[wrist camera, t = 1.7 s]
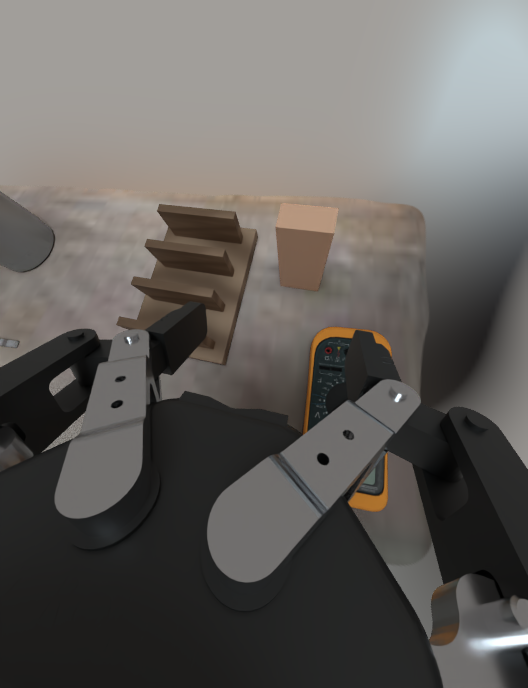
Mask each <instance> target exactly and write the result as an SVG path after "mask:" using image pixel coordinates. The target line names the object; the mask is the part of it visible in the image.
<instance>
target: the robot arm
mask: <svg viewBox="0 0 528 688" xmlns="http://www.w3.org/2000/svg"><path fill="white" fill-rule="evenodd" d="M53 241H54V238H53V233H52V230H51V229H50V227H49V226H47V225H46V224H45V223H43V222H42V221H40V220H39V218H38V217H37V216H35V215H34V214H32V213H31V212H29V211H28V210H27V209H25V208H24V207H22V206H21V205H19V204H18V203H16V202H15V201H14V200H12V199H11V198H9V197H8V196H6V195H5V194H3V193H2V192H1V191H0V265H2V266H4V267H6V268H9V269H11V270H13V271H17V272H23V271H27V270H30V269H33V268H35V267H36V266H38V265H39V264H40V263H41V262H43V261H44V260H45V258H46V257H47V256H48V254H49V253H50V251H51V249H52V246H53ZM206 335H207V317H206V307H205V305H204V304H203V303H198V302H192V301H189V302H188V303H187V304H185V305H184V306H182V307H181V308H179V309H176V310H174V311H171V312H170V313H168V314H167V315H165V317H162V318H161V319H160V320H158V321H157V322H155V323H154V324H152V325H151V326H150V327H148V328H147V329H145V330H140V329H134V330H127V331H124V332H121V333H119V334H117V335H116V336H115V337H114V338H113V340H99V339H98V336H97V334H96V332H95V331H94V330H92V329H77V330H73V331H69V332H66V333H64V334H62V335H60V336H58V337H56V338H54V339H53V340H51V341H49V342H47V343H45V344H43V345H41V346H40V347H38V348H36V349H34V350H32V351H30V352H28V353H26V354H25V355H23V356H21V357H19V358H17V359H15V360H13V361H12V362H10V363H8V364H6V365H4V366H2V367H0V688H528V469H527V468H526V466H525V465H524V463H523V462H522V460H521V459H520V457H519V456H518V455H517V453H516V452H515V450H514V449H513V447H512V446H511V444H510V443H509V442H508V440H507V439H506V437H505V436H504V434H503V433H502V431H501V430H500V429H499V428H498V426H497V425H496V424H494V423H493V422H492V421H491V420H489V419H488V418H487V417H485V416H483V415H481V414H480V413H478V412H476V411H474V410H471V409H468V408H464V407H454V408H451V409H450V410H449V412H448V413H447V414H444V413H442V412H440V411H437V410H435V409H432V408H430V407H427V406H426V405H423V404H421V400H420V397H419V395H418V394H417V393H416V391H414V390H413V389H412V388H411V387H409V386H408V385H406V384H404V383H402V382H401V379H400V377H399V374H398V372H397V369H396V367H395V365H394V362H393V360H392V357H391V355H390V352H389V351H388V350H387V349H386V348H385V347H384V346H383V345H382V344H379V343H376V341H375V338H374V335H373V333H372V332H367V331H362V330H355V332H354V334H353V337H352V340H351V343H350V346H349V349H348V352H347V355H346V359H345V376H346V386H347V396H348V400H347V401H346V402H345V403H343V404H342V405H341V406H339V407H338V408H337V409H336V410H334V411H333V412H332V413H331V414H329V415H328V416H327V417H326V418H324V419H323V420H322V421H320V422H319V423H318V424H317V425H315V426H314V427H313V428H312V429H310V430H309V431H308V432H307V433H305V434H304V435H302V434H301V433H300V432H299V431H297V430H296V429H294V428H293V427H291V426H289V425H287V420H288V416H287V415H283V414H279V413H274V412H270V411H266V410H262V409H234V408H230V407H228V406H226V405H224V404H222V403H220V402H218V401H216V400H214V399H212V398H210V397H208V396H204V395H200V394H196V393H191V392H187V391H185V392H184V393H183V394H182V396H181V397H180V398H176V399H167V400H162V393H161V380H160V376H159V375H160V374H161V373H164V374H169V375H173V374H174V373H175V371H176V370H177V369H178V368H179V367H180V366H181V365H182V364H183V363H184V361H185V360H186V359H187V358H188V357H189V356H190V355H191V354H192V353H193V351H194V350H195V349H196V348H197V347H198V346H199V345H200V344H201V343H202V341H203V340H204V339H205V338H206ZM69 367H70V368H71V370H72V372H73V374H74V376H75V378H76V379H75V380H74V381H73V382H71V383H70V384H69V385H67V386H66V387H65V388H63V389H62V390H61V391H60V392H58V393H57V394H56V395H54V396H53V395H52V394H51V392H50V391H49V384H50V382H51V381H52V379H53V378H55V377H56V376H58V375H59V374H60V373H62V372H63V371H65V370H66V369H68V368H69ZM85 411H86V413H85V417H84V420H83V424H82V428H81V431H80V434H79V435H78V436H76V437H75V438H74V439H71V440H69V441H67V442H65V443H62V444H60V445H58V446H56V447H54V448H51V449H49V450H47V451H45V452H42V451H44V450H45V449H46V448H47V447H48V446H49V445H50V444H51V443H52V442H53V441H54V440H55V439H56V438H57V437H59V436H60V435H61V434H62V433H63V432H64V431H65V430H66V429H67V428H68V427H69V426H70V425H71V424H72V423H74V422H75V421H76V420H77V419H78V418H79V417H80V416H81V415H82V414H83V413H84V412H85ZM388 451H390V452H391V453H393V454H395V455H397V456H399V457H401V458H403V459H405V460H407V461H409V462H410V463H412V465H413V469H414V472H415V476H416V480H417V484H418V488H419V492H420V496H421V499H422V503H423V507H424V511H425V515H426V519H427V522H428V526H429V530H430V534H431V538H432V542H433V545H434V549H435V553H436V557H437V561H438V564H439V569H440V572H441V576H442V580H443V584H444V585H441V586H440V587H438V588H437V589H436V590H435V591H434V593H433V595H432V599H431V610H432V621H433V625H432V633H431V637H430V639H428V637H427V635H426V632H425V630H424V628H423V626H422V624H421V622H420V620H419V618H418V616H417V614H416V612H415V610H414V609H413V607H412V605H411V604H410V602H409V600H408V599H407V597H406V595H405V594H404V592H403V591H402V589H401V587H400V586H399V584H398V583H397V581H396V579H395V578H394V576H393V574H392V573H391V571H390V570H389V568H388V566H387V565H386V563H385V561H384V560H383V558H382V557H381V555H380V553H379V552H378V550H377V549H376V547H375V545H374V544H373V542H372V540H371V539H370V537H369V536H368V534H367V532H366V531H365V529H364V528H363V526H362V524H361V523H360V521H359V519H358V518H357V516H356V515H355V513H354V511H353V510H352V508H351V506H350V505H349V503H348V502H349V501H350V500H351V498H352V497H353V496H354V494H355V493H356V492H357V490H358V489H359V488H360V486H361V485H362V484H363V482H364V481H365V480H366V478H367V477H368V476H369V475H370V473H371V472H372V471H373V470H374V468H375V467H376V466H377V465H378V463H379V462H380V461H381V460H382V458H383V457H384V456H385V455H386V454H387V452H388ZM41 452H42V453H41Z"/></svg>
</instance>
